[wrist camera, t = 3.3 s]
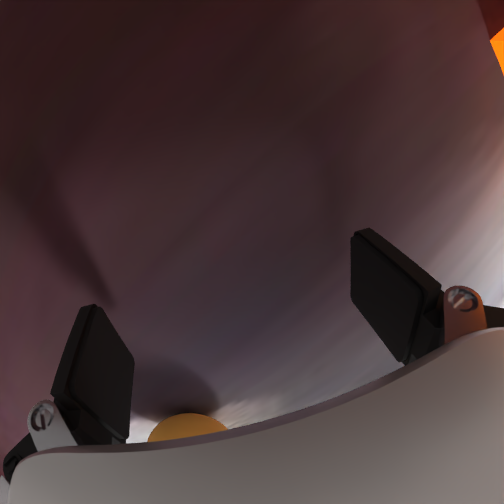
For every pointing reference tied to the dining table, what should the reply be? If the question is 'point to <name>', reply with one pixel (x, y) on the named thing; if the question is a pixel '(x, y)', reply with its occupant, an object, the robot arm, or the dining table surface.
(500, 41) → the orange juice
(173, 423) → the ball
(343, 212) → the dining table surface
